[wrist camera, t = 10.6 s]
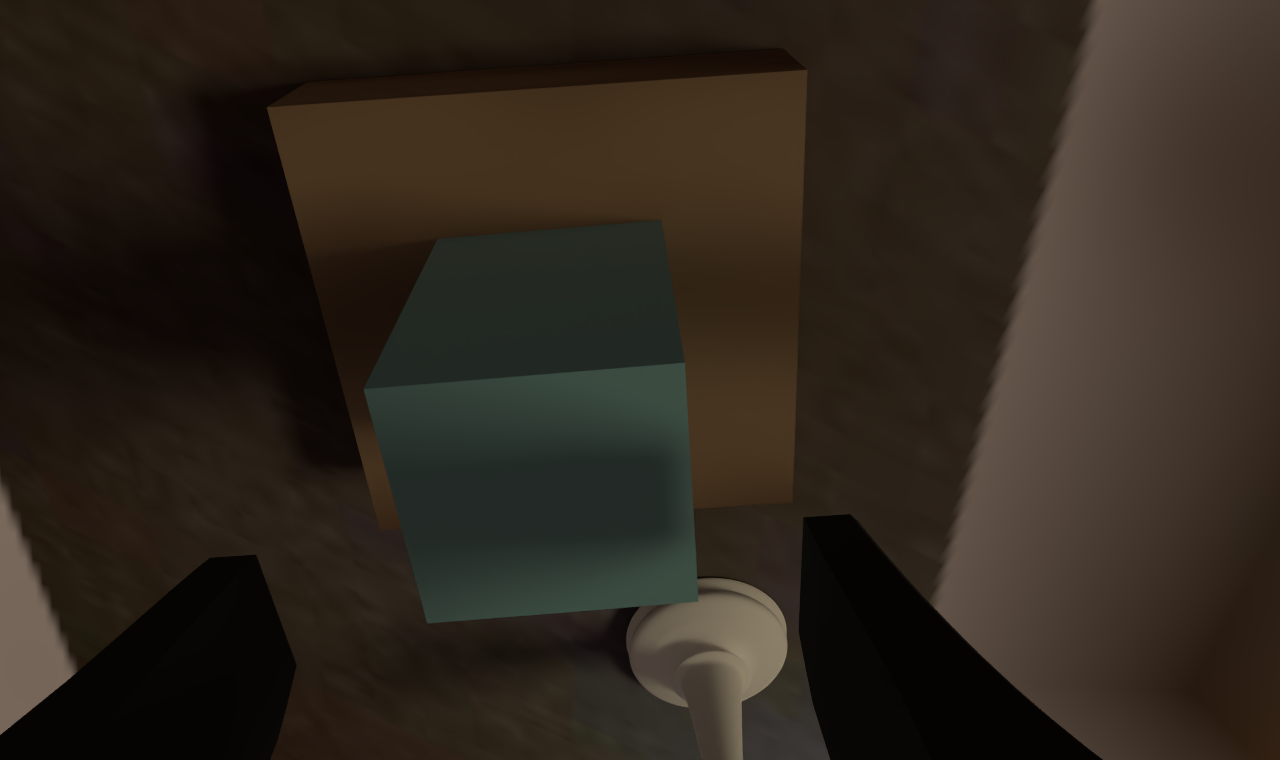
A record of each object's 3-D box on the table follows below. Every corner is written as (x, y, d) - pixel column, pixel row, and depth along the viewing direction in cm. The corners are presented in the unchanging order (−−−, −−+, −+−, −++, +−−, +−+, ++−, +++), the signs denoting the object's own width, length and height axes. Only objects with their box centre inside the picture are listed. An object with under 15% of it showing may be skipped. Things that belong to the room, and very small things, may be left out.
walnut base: (775, 444, 23) (792, 502, 21) (401, 470, 23) (380, 530, 21) (782, 48, 18) (807, 70, 16) (307, 81, 18) (266, 106, 16)
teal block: (674, 411, 19) (698, 601, 14) (476, 426, 19) (427, 623, 14) (661, 220, 17) (684, 362, 12) (437, 238, 17) (363, 389, 12)
